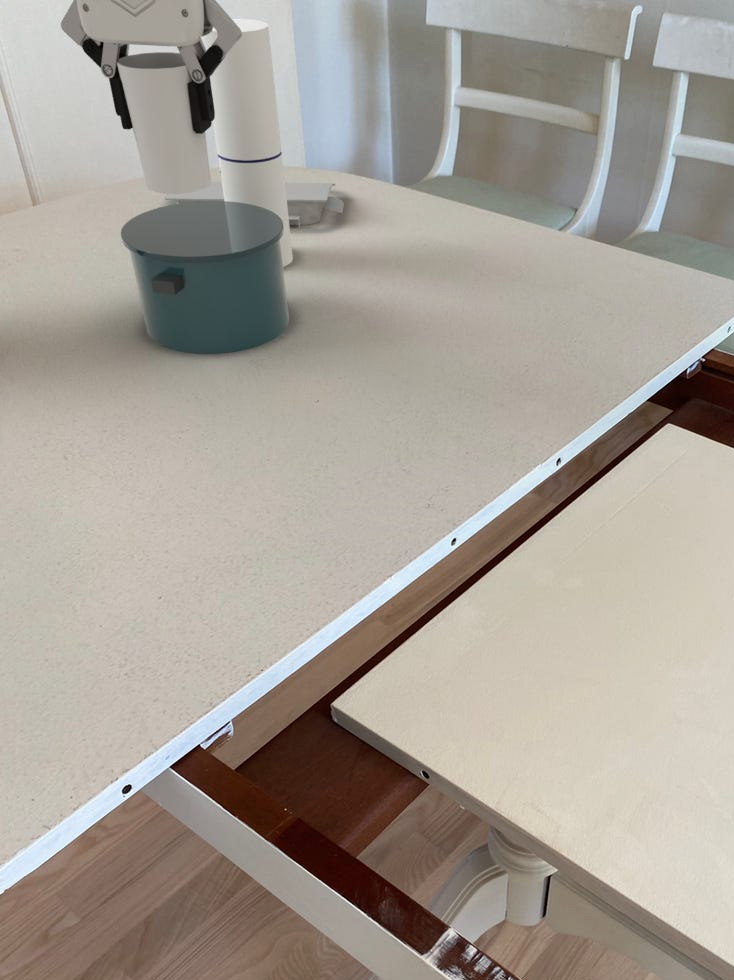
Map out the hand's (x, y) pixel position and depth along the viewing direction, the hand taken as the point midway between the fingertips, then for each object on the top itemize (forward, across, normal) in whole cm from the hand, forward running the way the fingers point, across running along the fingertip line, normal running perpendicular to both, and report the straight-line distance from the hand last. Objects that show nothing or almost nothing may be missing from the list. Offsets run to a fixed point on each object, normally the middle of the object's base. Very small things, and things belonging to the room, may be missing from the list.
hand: (167, 125), depth 87 cm
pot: (+21, 0, +6) cm, 22 cm away
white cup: (+5, 0, 0) cm, 5 cm away
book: (+22, -6, +41) cm, 46 cm away
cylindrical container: (+22, 0, +24) cm, 32 cm away
